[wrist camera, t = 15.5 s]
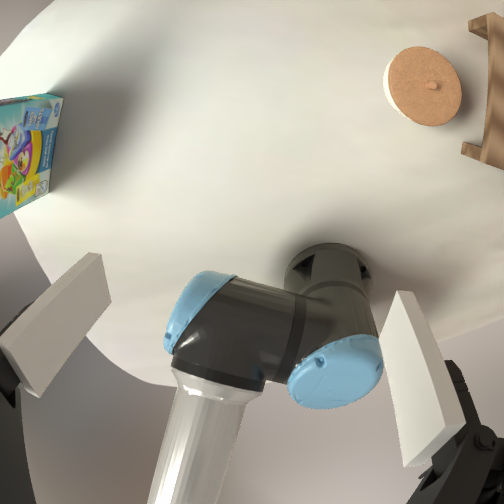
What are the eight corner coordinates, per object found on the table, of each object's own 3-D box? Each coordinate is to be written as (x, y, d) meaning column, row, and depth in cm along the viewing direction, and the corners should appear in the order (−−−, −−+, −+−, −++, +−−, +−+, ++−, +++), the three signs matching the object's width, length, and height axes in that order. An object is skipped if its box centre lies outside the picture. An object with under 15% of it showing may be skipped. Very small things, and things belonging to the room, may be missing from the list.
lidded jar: (443, 119, 36) (474, 124, 28) (383, 126, 38) (404, 131, 30) (429, 53, 31) (457, 44, 23) (366, 57, 34) (383, 45, 26)
